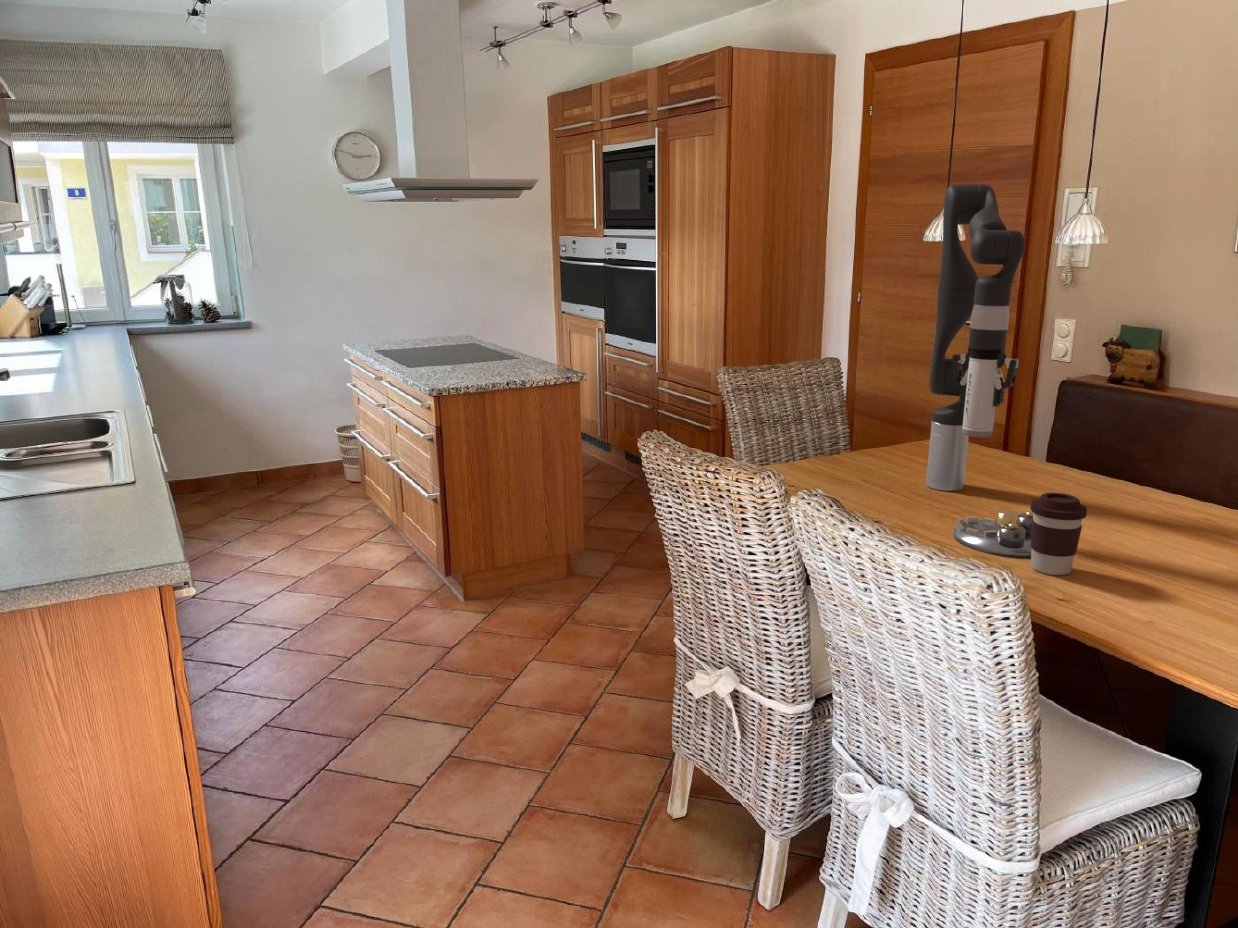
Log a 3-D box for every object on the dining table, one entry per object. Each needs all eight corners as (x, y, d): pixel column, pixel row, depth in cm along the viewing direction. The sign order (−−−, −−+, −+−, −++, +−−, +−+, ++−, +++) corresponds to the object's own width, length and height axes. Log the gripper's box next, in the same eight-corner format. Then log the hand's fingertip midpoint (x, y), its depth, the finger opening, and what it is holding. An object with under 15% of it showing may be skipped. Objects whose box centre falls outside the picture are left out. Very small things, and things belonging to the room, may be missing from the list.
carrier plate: (975, 518, 210) (978, 492, 208) (1071, 539, 196) (1075, 512, 194) (936, 541, 195) (939, 513, 193) (1038, 565, 181) (1042, 536, 179)
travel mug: (993, 432, 199) (1003, 341, 194) (991, 438, 193) (1001, 344, 189) (963, 429, 202) (972, 340, 197) (960, 435, 196) (969, 343, 191)
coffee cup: (1015, 560, 184) (1024, 489, 180) (1064, 560, 184) (1074, 490, 180) (1035, 578, 174) (1045, 504, 170) (1087, 579, 174) (1098, 505, 170)
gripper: (1030, 328, 190) (1020, 406, 194) (963, 323, 199) (955, 398, 203) (1016, 330, 185) (1007, 410, 189) (948, 325, 194) (941, 402, 198)
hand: (980, 403), depth 196 cm, fingers closed on travel mug, 6 cm apart
